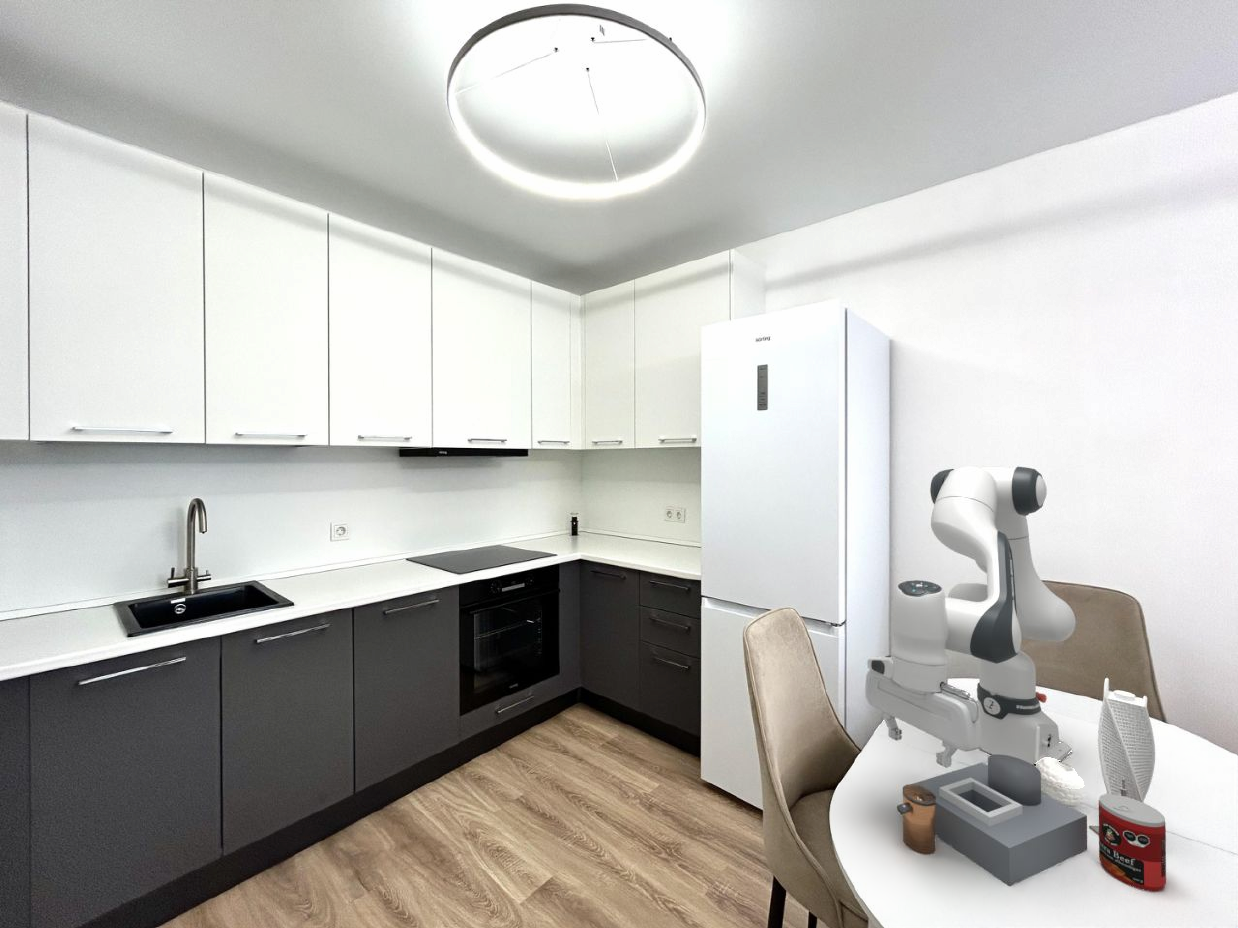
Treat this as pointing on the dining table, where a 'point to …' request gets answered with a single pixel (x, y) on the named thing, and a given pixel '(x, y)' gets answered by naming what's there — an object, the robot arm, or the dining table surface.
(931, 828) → the spout can
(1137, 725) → the skyscraper
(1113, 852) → the canned food
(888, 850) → the dining table surface
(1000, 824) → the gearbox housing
